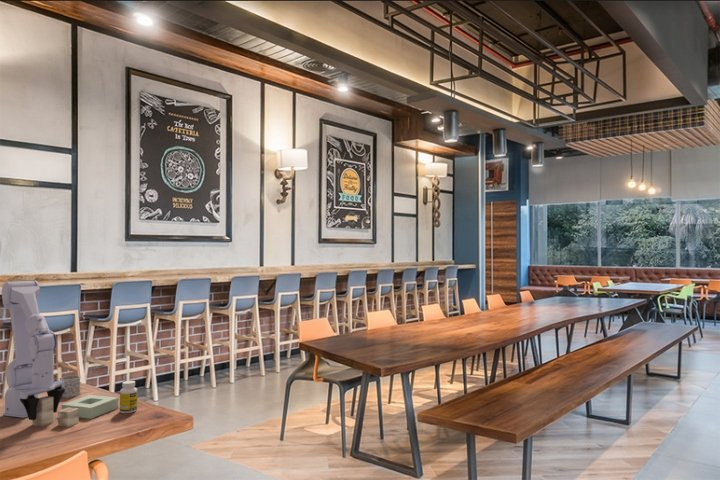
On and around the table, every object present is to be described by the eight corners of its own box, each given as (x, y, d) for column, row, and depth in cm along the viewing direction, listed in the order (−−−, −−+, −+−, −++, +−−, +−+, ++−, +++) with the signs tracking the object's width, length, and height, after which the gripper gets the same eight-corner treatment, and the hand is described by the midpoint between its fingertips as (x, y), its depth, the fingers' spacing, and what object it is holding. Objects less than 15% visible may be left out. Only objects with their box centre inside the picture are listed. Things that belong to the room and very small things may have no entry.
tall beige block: (32, 425, 166) (32, 399, 166) (43, 421, 170) (43, 395, 170) (42, 426, 165) (42, 400, 165) (53, 422, 168) (53, 396, 168)
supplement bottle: (130, 414, 176) (130, 384, 176) (116, 413, 177) (116, 383, 177) (140, 409, 181) (140, 380, 181) (126, 408, 182) (126, 379, 183)
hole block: (61, 415, 175) (61, 404, 175) (89, 404, 186) (89, 394, 186) (91, 418, 171) (91, 407, 172) (118, 407, 183) (118, 397, 183)
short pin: (58, 425, 165) (58, 411, 165) (68, 421, 169) (68, 407, 169) (68, 427, 164) (68, 412, 164) (78, 422, 168) (78, 408, 168)
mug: (74, 391, 203) (74, 374, 203) (83, 394, 199) (83, 376, 199) (46, 398, 195) (46, 379, 195) (55, 401, 191) (55, 382, 191)
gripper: (32, 378, 159) (32, 424, 159) (71, 367, 173) (71, 409, 173) (14, 377, 161) (14, 422, 161) (54, 366, 175) (54, 408, 175)
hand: (42, 415), depth 167 cm, fingers open, 7 cm apart
